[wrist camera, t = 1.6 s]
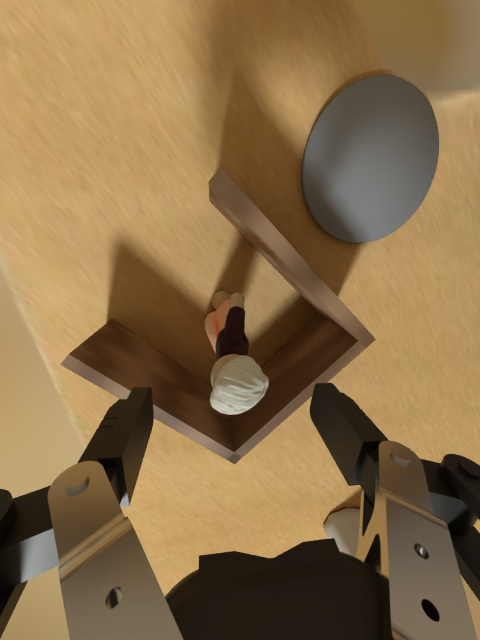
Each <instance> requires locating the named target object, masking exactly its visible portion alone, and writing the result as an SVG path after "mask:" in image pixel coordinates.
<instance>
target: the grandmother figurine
mask: <svg viewBox="0 0 480 640" xmlns="http://www.w3.org/2000/svg"><path fill="white" fill-rule="evenodd" d="M244 300H245V299H244V296H243V295H242V294H241V293H234V294H233V295H230V294H228V293H226V292H224V291H218V292H216V293H215V294H214V295H213V297H212V301H211V302H212V306H213V308H214V309H216V311H214V312H212V313H210V314H208V315H207V317H206V319H205V328H206V332H207V335H208V337H209V339H210V341H211V344H212V347H213V349H214V351H215V353H216V358H217V362H216V363H215V364H214V366H213V368H212V371H211V384H212V386H213V392H212V393H211V395H210V403H211V406H212V407H213V408H214V409H216V410H217V411H219V412H221V413H224V414H228V415H234V414H240V413H243V412H245V411H247V410H249V409H251V408H252V407H253V406H255V405H256V404H257V403H258V401H260V400H261V399H262V397H263V396H264V395H265V392H266V389H267V388H268V385H269V380H268V377H267V376H266V375H264V374H263V372H262V370H261V368H260V366H259V365H258V364H257V363H256V362H255V361H254V359H252V358H251V357H248V356H247V355H248V348H249V342H248V339H247V337H246V335H245V333H244V328H245V326H244V321H245V311H244Z"/></svg>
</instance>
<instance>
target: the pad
mask: <svg viewBox="0 0 480 640" xmlns="http://www.w3.org/2000/svg"><path fill="white" fill-rule="evenodd" d="M438 154H439V134H438V127H437V122H436V119H435V115H434V112H433V110H432V108H431V106H430V104H429V102H428V101H427V99H426V97H425V96H424V95H423V94H422V92H421V91H420V90H419V89H418V88H417V87H415V86H414V85H413V84H411V83H410V82H408V81H406V80H404V79H402V78H399V77H395V76H389V75H378V76H371V77H368V78H364V79H362V80H360V81H357V82H355V83H353V84H352V85H350V86H349V87H347V88H346V89H344V90H343V91H342V92H341V93H340V94H338V95H337V96H336V97H335V98H334V99H333V100H332V102H331V103H330V104H329V105H328V106H327V107H326V108H325V109H324V111H323V112H322V114H321V115H320V116H319V118H318V119H317V121H316V123H315V125H314V127H313V128H312V131H311V133H310V135H309V138H308V140H307V143H306V147H305V150H304V155H303V160H302V171H301V178H302V189H303V195H304V199H305V202H306V205H307V208H308V210H309V212H310V214H311V216H312V217H313V219H314V220H315V222H316V223H317V224H318V226H319V227H320V228H321V229H322V230H324V231H325V232H326V233H327V234H329V235H330V236H332V237H334V238H336V239H339V240H342V241H346V242H354V243H363V242H370V241H374V240H378V239H381V238H383V237H385V236H387V235H389V234H391V233H392V232H394V231H396V230H397V229H398V228H400V227H401V226H402V225H403V224H404V223H405V222H406V221H408V220H409V219H410V217H411V216H412V215H413V214H414V213H415V212H416V210H417V209H418V207H419V206H420V205H421V203H422V201H423V200H424V198H425V196H426V194H427V192H428V190H429V188H430V186H431V183H432V180H433V178H434V175H435V171H436V167H437V161H438Z"/></svg>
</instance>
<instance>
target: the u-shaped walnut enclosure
mask: <svg viewBox="0 0 480 640" xmlns="http://www.w3.org/2000/svg"><path fill="white" fill-rule="evenodd" d="M209 200H210V202H211V203H212V204H213V205H214V206H215V207H216V208H217V209H218V210H219V211H220V212H221V213H222V214H223V215H224V216H225V217H226V218H227V219H228V220H229V221H230V223H231V224H232V225H233V226H234V227H235V228H236V229H237V230H238V231H239V232H240V233H241V234H242V235H243V236H244V237H245V238H246V239H247V240H248V241H249V242H250V243H251V244H252V245H253V246H254V247H255V248H256V249H257V250H258V251H259V252H260V253H261V254H262V255H263V256H264V257H265V259H266V260H267V261H268V262H269V263H270V264H271V265H272V266H273V267H274V268H275V269H276V270H277V271H278V272H279V273H280V274H281V275H282V276H283V277H284V278H285V279H286V280H287V281H288V282H289V283H290V284H291V285H292V286H293V287H294V288H295V289H296V290H297V291H298V292H299V294H300V295H301V296H302V297H303V298H304V299H305V300H306V301H307V302H308V303H309V304H310V305H311V306H312V307H313V308H314V309H315V310H316V311H317V312H318V313H317V314H316V315H315V316H314V317H313V318H312V319H311V320H310V321H309V322H308V323H307V324H306V325H305V326H304V327H303V328H302V329H301V330H299V331H298V332H297V333H296V334H295V335H294V336H293V337H292V338H291V339H290V340H289V341H288V342H287V343H286V344H285V345H284V346H283V347H282V348H281V349H280V350H279V351H278V352H277V353H276V354H275V355H274V356H273V357H271V358H270V359H269V360H268V361H267V362H266V363H265V364H264V365H263V366H262V367H261V370H262V372H263V374H264V375H266V376H267V377H268V380H269V385H268V388H267V389H266V392H265V395H264V396H263V397H262V399H261V400H260V401H258V403H257V404H256V405H255V406H253V407H252V408H251V409H249V410H247V411H245V412H243V413H240V414H234V415H228V414H224V413H221V412H219V411H217V410H216V409H214V408H213V407H212V406H211V403H210V395H211V393H212V392H213V388H212V387H210V386H209V385H207V384H206V383H204V382H203V381H202V380H200V379H199V378H197V377H196V376H194V375H193V374H191V373H190V372H188V371H187V370H186V369H184V368H183V367H181V366H180V365H178V364H177V363H175V362H174V361H172V360H171V359H170V358H168V357H167V356H165V355H164V354H162V353H161V352H159V351H158V350H157V349H155V348H154V347H152V346H151V345H149V344H148V343H146V342H145V341H143V340H142V339H141V338H139V337H138V336H136V335H135V334H133V333H132V332H130V331H129V330H127V329H126V328H125V327H123V326H122V325H120V324H119V323H117V322H116V321H114V320H113V319H111V320H110V321H109V322H108V323H106V324H105V325H104V326H103V327H101V328H100V329H99V330H98V331H97V332H95V333H94V334H93V335H92V336H90V337H89V338H88V339H87V340H86V341H84V342H83V343H82V344H81V345H79V346H78V347H77V348H76V349H75V350H73V351H72V352H71V353H70V354H69V355H68V356H67V357H66V358H65V359H64V361H63V362H62V363H61V364H60V365H62V366H64V367H65V368H67V369H69V370H71V371H72V372H74V373H76V374H78V375H79V376H81V377H83V378H85V379H86V380H88V381H90V382H92V383H93V384H95V385H97V386H99V387H100V388H102V389H104V390H106V391H107V392H109V393H111V394H113V395H114V396H116V397H118V398H120V399H127V398H128V396H129V394H130V392H131V390H132V388H133V387H151V389H152V399H153V411H154V418H155V419H156V420H158V421H160V422H162V423H163V424H165V425H167V426H169V427H170V428H172V429H174V430H176V431H177V432H179V433H181V434H183V435H184V436H186V437H188V438H190V439H191V440H193V441H195V442H197V443H198V444H200V445H202V446H204V447H205V448H207V449H209V450H211V451H212V452H214V453H216V454H218V455H219V456H221V457H223V458H225V459H226V460H228V461H230V462H232V463H233V464H236V463H237V462H238V461H239V460H240V459H241V458H242V457H243V456H245V455H246V454H247V453H248V452H249V451H250V450H251V449H253V448H254V447H255V446H256V445H257V444H258V443H259V442H260V441H262V440H263V439H264V438H265V437H266V436H267V435H268V434H269V433H271V432H272V431H273V430H274V429H275V428H276V427H277V426H279V425H280V424H281V423H282V422H283V421H284V420H285V419H286V418H288V417H289V416H290V415H291V414H292V413H293V412H294V411H295V410H297V409H298V408H299V407H300V406H301V405H302V404H303V403H304V402H306V401H307V400H308V399H309V398H310V397H311V396H312V395H313V390H314V386H315V384H316V383H327V382H328V381H329V380H330V379H332V378H333V377H334V376H335V375H336V374H337V373H338V372H340V371H341V370H342V369H343V368H344V367H345V366H346V365H347V364H349V363H350V362H351V361H352V360H353V359H354V358H355V357H356V356H358V355H359V354H360V353H361V352H362V351H363V350H364V349H366V348H367V347H368V346H369V345H370V344H371V343H372V342H373V341H375V340H376V339H375V338H374V337H373V336H372V335H371V334H370V332H369V331H368V330H367V329H366V328H365V327H364V326H363V325H362V324H361V322H360V321H359V320H358V319H357V318H356V317H355V316H354V315H353V314H352V312H351V311H350V310H349V309H348V308H347V307H346V306H345V305H344V303H343V302H342V301H341V300H340V299H339V298H338V297H337V296H336V295H335V293H334V292H333V291H332V290H331V289H330V288H329V287H328V286H327V285H326V283H325V282H324V281H323V280H322V279H321V278H320V277H319V276H318V274H317V273H316V272H315V271H314V270H313V269H312V268H311V267H310V266H309V264H308V263H307V262H306V261H305V260H304V259H303V258H302V257H301V256H300V254H299V253H298V252H297V251H296V250H295V249H294V248H293V247H292V245H291V244H290V243H289V242H288V241H287V240H286V239H285V238H284V237H283V235H282V234H281V233H280V232H279V231H278V230H277V229H276V228H275V227H274V225H273V224H272V223H271V222H270V221H269V220H268V219H267V218H266V216H265V215H264V214H263V213H262V212H261V211H260V210H259V209H258V208H257V206H256V205H255V204H254V203H253V202H252V201H251V200H250V199H249V198H248V196H247V195H246V194H245V193H244V192H243V191H242V190H241V189H240V187H239V186H238V185H237V184H236V183H235V182H234V181H233V180H232V179H231V177H230V176H229V175H228V174H227V173H226V172H225V171H224V170H223V169H222V167H220V168H219V170H218V171H217V172H216V173H215V175H214V176H213V177H212V178H211V180H210V181H209Z"/></svg>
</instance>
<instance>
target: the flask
mask: <svg viewBox="0 0 480 640" xmlns="http://www.w3.org/2000/svg"><path fill="white" fill-rule="evenodd" d="M359 523H360V509H355V508H346V509H343V510H340V511H338V512H335V513H333V514H330V515H329V517H328V519H327V521H326V522H325V524H324V526H323V527H324V530H325V532H326V534H327V536H328V538H329V539H330V538H334V539H335V541H336V544H337V546H338V549H339V551H341V552H344V553H346V554H349V555H352V556H354V557H356V553H357V549H358V541H359Z"/></svg>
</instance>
